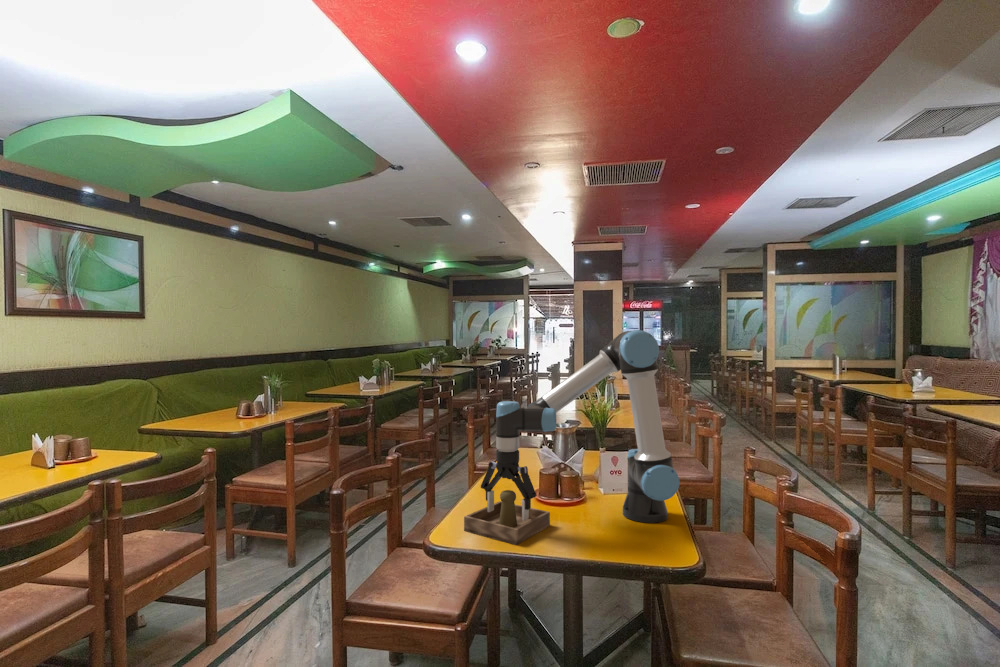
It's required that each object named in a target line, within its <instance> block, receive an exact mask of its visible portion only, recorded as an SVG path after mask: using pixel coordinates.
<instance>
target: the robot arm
mask: <svg viewBox="0 0 1000 667" xmlns="http://www.w3.org/2000/svg"><path fill="white" fill-rule="evenodd" d="M659 355H660V347H659V343H658V341H657V339H656V338H655V336H653V334H651V333H650V332H647V331H645V330H641V329H633V330H627V331H623V332H621V333H619V334H618V335H617V336H615V337H614V338H613V339H612V340H611V341H610V342H609V343H608V344H607V345H605V346H604V347H603V348H601V349H600V350H599V354H598V355H596V356H595V357H594V358H592V360H590V361H588V362H587V363H586V364H585V365H583V366H582V367H580V368H579V369H577V370H576V371H575V372H574V373H572V374H571V375H569V376H568V377H567V378H565V379H564V380H563V381H561V382H560V383H559V384H557V385H556V386H554V387H553V388H552V389H550V390H549V391H547V392H546V393H545V394H543V395H542V396H541V397H539V398H538V399H537V400H535V401H534V402H531V403H529V404H528V405H527V406H526V407H521V406H520V403H519V401H513V400H511V401H510V400H503V401H500V402H498V403H497V404H496V412H495V413H496V416H495V420H496V422H495V423H496V424H495V426H496V427H495V428H496V429H495V430H496V431H495V434H496V437H495V443H496V444H495V449H497V450H496V451H495V453H496V454H495V460H496V461H495V460H493V461H490V462H488V466H487V467H488V469H487V470H486V473H485V475H484V477H483V480H482V482H481V484H480V489H483V490H484V491H485V501H486V502H487V506H486V507H487V512H491V511H493V510H494V504H495V490H493V489H494V487H495V486H496V485H497V483H498V482H499V481H500V480H501V478H502V479H507V480H511V481H512V482H513V483H514V485H515V486H516V487H517V489H518V490H519V492H520V494H521V495H522V497H523V499H521V504H522V505H521V506H522V520H523V521H524V520H526V519H528V518H529V509H530V508H532V507H531V506H532V505H531V504H532V503H531V501H532V499H534V498H536V497H537V493H536V491H535V487H534V486H533V482H532V479H531V478H530V475H529V469H528V466H520V464H519V463H520V432H544V433H546V432H547V433H548V432H554V431H556V429H557V413H558V412H560V411H561V410H563V409H564V408H565V407H567V406H568V405H569V404H570V403H572V402H573V401H575V400H576V399H578V398H579V397H580V396H581V395H583V394H584V393H586V392H587V391H589V390H590V389H591V388H592V387H594V386H595V385H596V384H598V383H600V382H601V381H602V380H603V379H605V378H606V377H607V376H609V375H610V374H612V373H618V372H619V371H620V373H621V375H622V376H623V377H625V378H626V380H627V386H628V393H629V400H630V407H631V413H632V420H633V426H634V431H635V432H634V433H635V438H636V439H635V440H636V445H637V448H632V449H629V450H628V452H627V458H626V460H627V493H626V496H625V499H624V501H623V502H624V503H623V505H622V515H623V517H625V518H627V519H628V520H631V521H635V522H640V523H648V524H649V523H650V524H651V523H653V524H655V523H662V522H665V521H666V520H668V518H669V517H668V516H669V513H668V512H669V511H668V509H667V505H666V503H665V501H667V500H669V499H671V498H672V497H674V496H675V494H676V493H677V492H678V490H679V487H680V477H679V475H678V472H677V471H676V469H675V468H674V464H673V458H672V452H670V451H669V450H668V449H667V448H666V443H665V437H664V432H663V425H662V418H661V412H660V410H661V409H660V405H659V398H658V391H657V385H656V379H655V375H656V373H657V372H658V371H659V366H658V365H659V364H658V360H657V359H658V357H659ZM495 470H497V472H496V473H495ZM494 473H495V475H494ZM493 475H494V477H493ZM492 477H493V478H492Z"/></svg>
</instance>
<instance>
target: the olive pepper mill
mask: <svg viewBox="0 0 1000 667" xmlns="http://www.w3.org/2000/svg"><path fill="white" fill-rule="evenodd" d="M499 494H500V495H499V498H500V501H502V504H501V511H500V519H499V524H500V525H504V526H508V527H512V528H515V527H517V519H516V511H515V504H516V503H515V501H516V500H517V494H516V492H515V491H514V490H510V489H506V490H503V491H501V493H499Z"/></svg>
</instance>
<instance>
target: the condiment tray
mask: <svg viewBox="0 0 1000 667" xmlns="http://www.w3.org/2000/svg"><path fill="white" fill-rule="evenodd" d="M501 504H502V501H501V500H500V501H498V502H494V510H493V511H491V512H487V506H486V507H483V508H481V509H479V510H477V511H473V512H471V513H470V514H467V515H465V516H464V517H463V531H464V532H468V533H470V534H474V535H478V536H481V537H485V538H488V539H491V540H496V541H498V542H499V541H500V542H503V543H507V544H509V545H510V544H511V545H514V546H517V545H520V544H521V543H523V542H525V541H526V540H528V539H530V538H531V537H533V536H535V535H536V534H538V533H540V532H541V531H544V530H545V529H547V528H548V527H550V526H551V512H550V511H546V510H542V509H538V508H535V507H531V508H530V509H529V518H528V519H526V520H524V521H523V520H522V505H520V504H516V503H515V511H516V519H517V527H515V528H512V527H508V526H504V525H500V524H499V519H500V511H501Z"/></svg>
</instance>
